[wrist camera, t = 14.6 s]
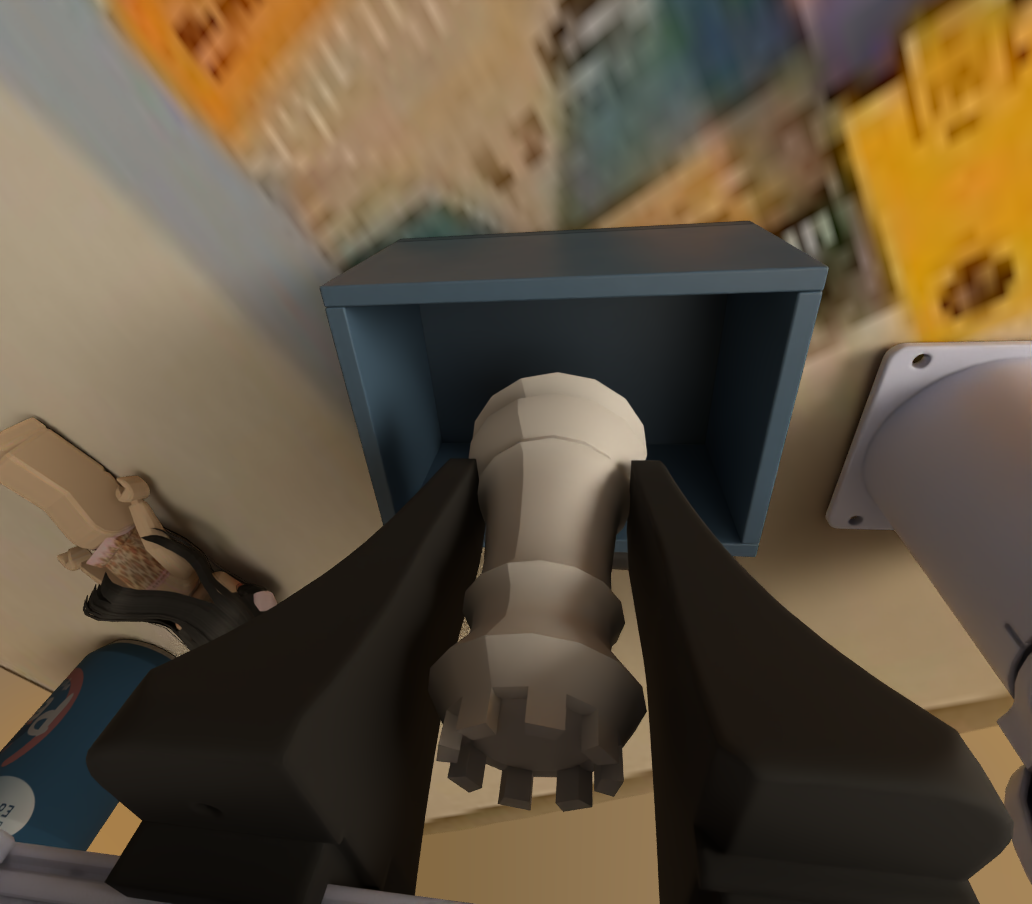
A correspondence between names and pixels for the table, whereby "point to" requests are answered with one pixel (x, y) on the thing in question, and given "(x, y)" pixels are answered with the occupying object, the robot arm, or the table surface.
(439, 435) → the basket
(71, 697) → the soda can
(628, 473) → the rook chess piece
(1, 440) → the toy figure
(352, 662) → the robot arm
